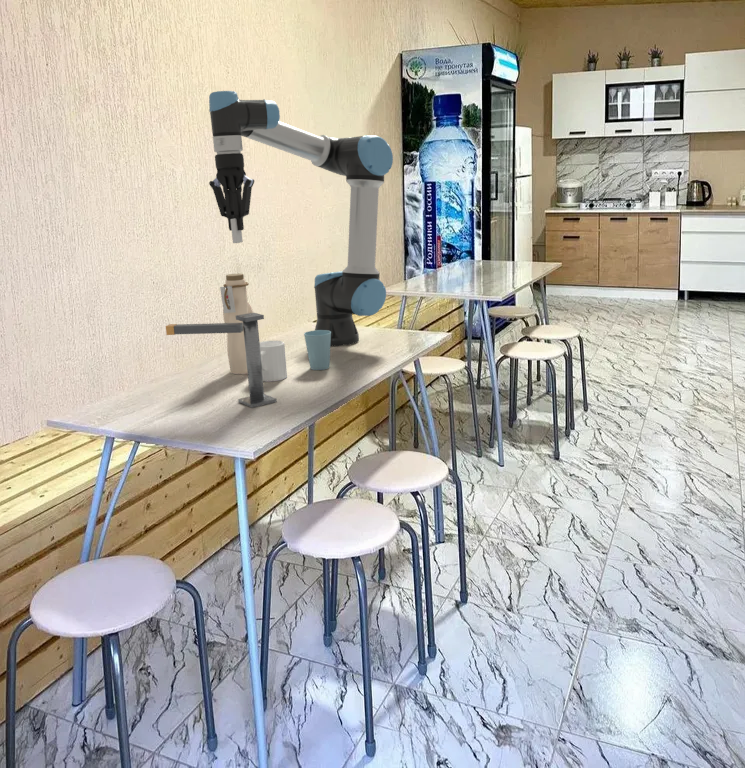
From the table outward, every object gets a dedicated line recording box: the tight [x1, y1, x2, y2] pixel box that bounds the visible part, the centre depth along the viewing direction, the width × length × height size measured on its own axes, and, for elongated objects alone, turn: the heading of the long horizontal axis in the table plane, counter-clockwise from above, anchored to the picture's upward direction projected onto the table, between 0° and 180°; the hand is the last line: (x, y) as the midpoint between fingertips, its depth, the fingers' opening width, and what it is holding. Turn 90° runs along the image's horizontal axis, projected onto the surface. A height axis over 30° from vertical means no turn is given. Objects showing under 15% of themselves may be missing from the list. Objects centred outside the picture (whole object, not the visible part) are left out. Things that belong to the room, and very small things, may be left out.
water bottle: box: [219, 273, 255, 375], centre depth 224 cm, size 10×9×28 cm
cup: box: [303, 329, 331, 371], centre depth 226 cm, size 8×8×10 cm
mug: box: [259, 340, 288, 383], centre depth 216 cm, size 8×12×10 cm
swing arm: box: [165, 322, 243, 336], centre depth 193 cm, size 19×3×2 cm, turn 83°
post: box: [236, 312, 277, 409], centre depth 194 cm, size 7×7×22 cm
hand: (237, 242), depth 215 cm, fingers closed
